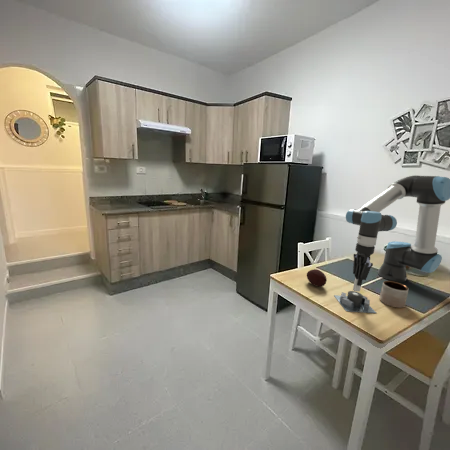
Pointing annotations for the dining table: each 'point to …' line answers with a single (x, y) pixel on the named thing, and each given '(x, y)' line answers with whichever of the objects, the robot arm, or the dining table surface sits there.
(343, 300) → the blue square tray
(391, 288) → the planter
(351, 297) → the cap
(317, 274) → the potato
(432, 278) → the dining table surface
